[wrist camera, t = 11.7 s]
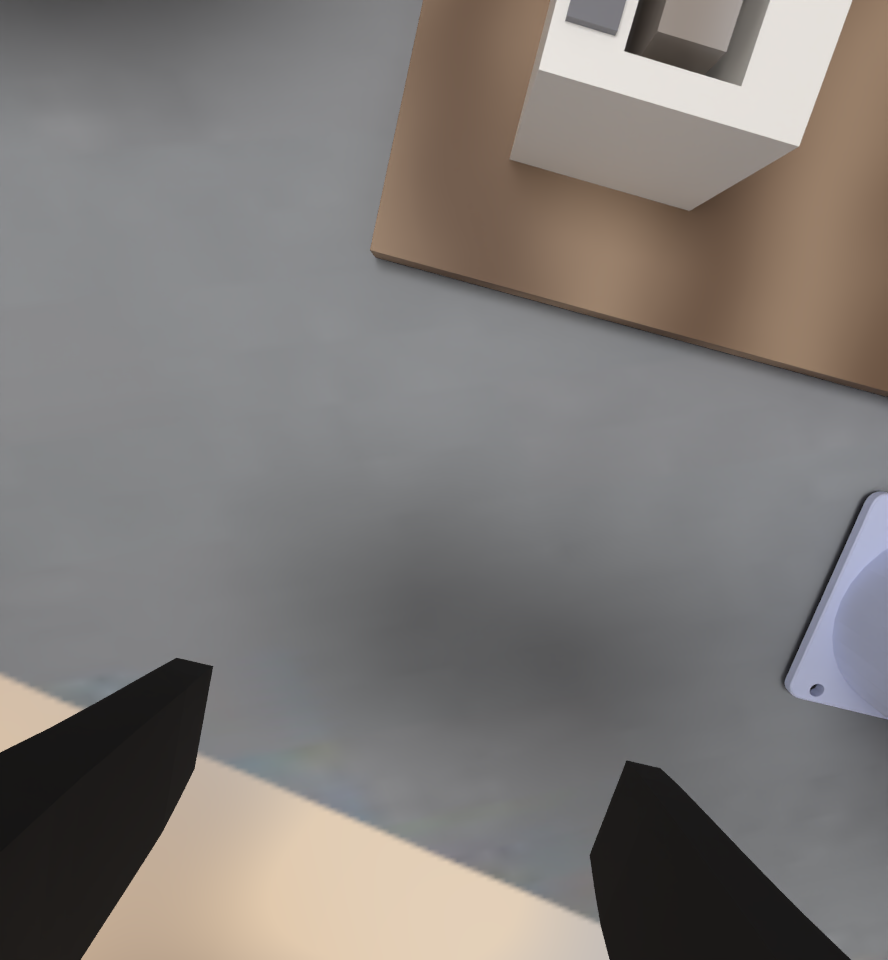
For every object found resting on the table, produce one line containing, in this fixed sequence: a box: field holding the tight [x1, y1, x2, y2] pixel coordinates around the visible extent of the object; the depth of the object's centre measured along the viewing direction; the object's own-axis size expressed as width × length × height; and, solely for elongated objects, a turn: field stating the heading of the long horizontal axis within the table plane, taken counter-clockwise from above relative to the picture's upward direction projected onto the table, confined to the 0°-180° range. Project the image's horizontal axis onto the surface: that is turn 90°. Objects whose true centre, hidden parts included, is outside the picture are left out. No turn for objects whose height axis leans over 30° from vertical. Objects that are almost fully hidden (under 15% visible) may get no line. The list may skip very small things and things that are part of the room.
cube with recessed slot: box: [510, 0, 852, 211], centre depth 12 cm, size 5×5×5 cm
